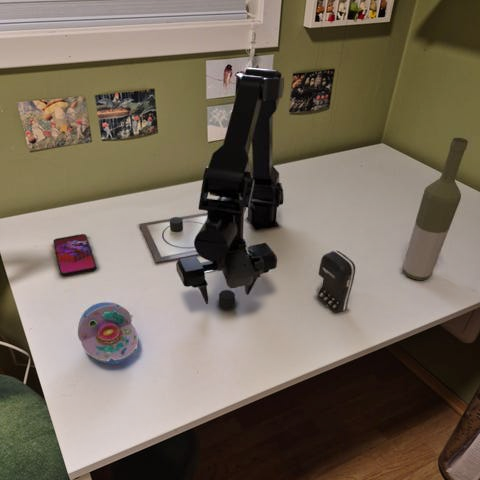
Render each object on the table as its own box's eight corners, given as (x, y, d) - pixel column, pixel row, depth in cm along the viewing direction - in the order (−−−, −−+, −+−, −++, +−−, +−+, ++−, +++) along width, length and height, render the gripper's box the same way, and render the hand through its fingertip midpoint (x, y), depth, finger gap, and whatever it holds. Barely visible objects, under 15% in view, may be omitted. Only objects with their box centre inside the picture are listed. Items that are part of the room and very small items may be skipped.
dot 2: (231, 298, 97) (231, 288, 96) (237, 307, 95) (237, 297, 93) (216, 301, 96) (216, 291, 95) (222, 310, 94) (222, 301, 92)
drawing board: (214, 213, 124) (214, 210, 124) (238, 247, 112) (239, 245, 111) (139, 225, 118) (139, 223, 118) (156, 263, 106) (156, 261, 105)
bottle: (438, 276, 105) (489, 143, 85) (417, 286, 102) (464, 150, 82) (414, 261, 109) (457, 130, 89) (393, 270, 106) (432, 137, 86)
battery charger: (311, 297, 98) (319, 251, 90) (326, 292, 99) (334, 246, 92) (332, 316, 94) (342, 269, 86) (347, 310, 95) (358, 264, 87)
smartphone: (60, 274, 100) (52, 238, 111) (61, 277, 101) (53, 242, 111) (96, 267, 103) (85, 233, 113) (97, 270, 103) (86, 236, 113)
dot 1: (181, 225, 118) (180, 216, 116) (184, 231, 116) (184, 222, 114) (168, 227, 117) (168, 218, 115) (172, 233, 115) (171, 224, 113)
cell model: (98, 384, 79) (87, 343, 72) (76, 341, 86) (64, 301, 80) (152, 362, 83) (147, 322, 76) (127, 323, 90) (120, 284, 84)
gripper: (190, 264, 76) (194, 334, 86) (293, 244, 81) (285, 312, 92) (172, 231, 84) (178, 299, 94) (267, 214, 89) (263, 280, 99)
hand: (226, 298), depth 95 cm, fingers open, 8 cm apart
